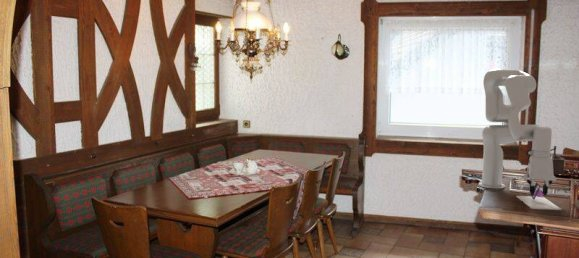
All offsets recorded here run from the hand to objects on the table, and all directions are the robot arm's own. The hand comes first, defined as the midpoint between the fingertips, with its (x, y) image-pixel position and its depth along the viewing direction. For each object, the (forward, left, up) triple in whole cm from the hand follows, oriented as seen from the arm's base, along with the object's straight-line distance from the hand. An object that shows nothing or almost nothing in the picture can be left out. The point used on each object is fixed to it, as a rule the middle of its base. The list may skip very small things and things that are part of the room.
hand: (538, 194), depth 238 cm
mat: (0, 0, -4) cm, 4 cm away
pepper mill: (-75, +30, -4) cm, 81 cm away
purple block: (-1, 0, -2) cm, 3 cm away
